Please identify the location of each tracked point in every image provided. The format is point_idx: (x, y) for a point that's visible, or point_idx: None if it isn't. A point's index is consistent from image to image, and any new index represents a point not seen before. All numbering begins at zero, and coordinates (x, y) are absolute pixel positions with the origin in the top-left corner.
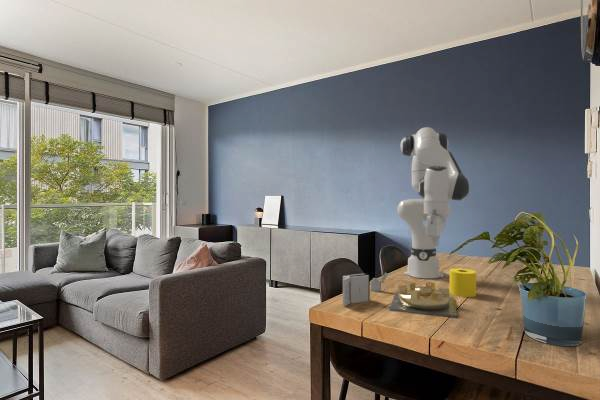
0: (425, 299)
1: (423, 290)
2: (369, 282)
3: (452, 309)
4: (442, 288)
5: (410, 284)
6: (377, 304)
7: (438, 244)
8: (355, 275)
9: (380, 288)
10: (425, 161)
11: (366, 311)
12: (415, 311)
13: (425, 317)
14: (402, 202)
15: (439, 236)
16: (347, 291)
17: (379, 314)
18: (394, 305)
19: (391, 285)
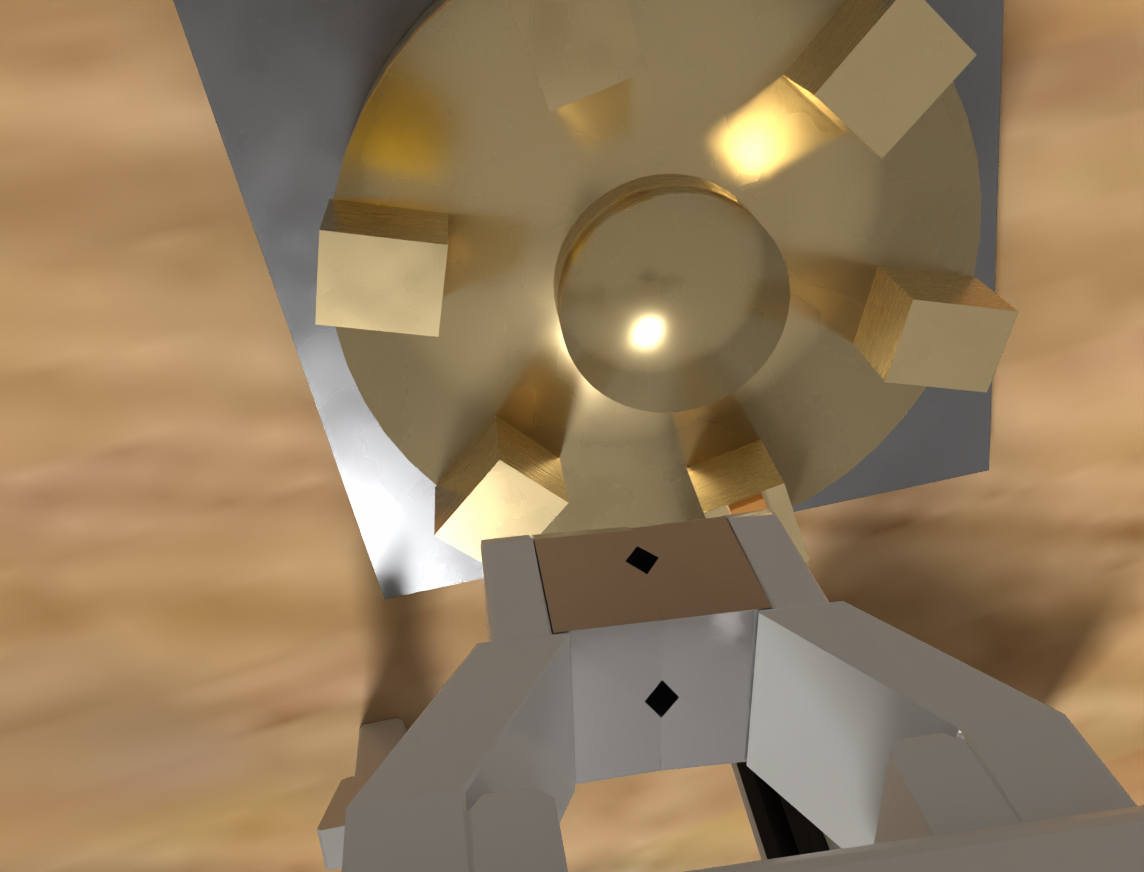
0: (921, 193)
1: (784, 280)
2: (807, 825)
3: None
4: (619, 47)
5: (565, 494)
6: (847, 593)
7: (575, 536)
8: None
9: (396, 742)
10: None
11: (1076, 592)
12: (993, 235)
13: (1093, 103)
14: None
15: (464, 774)
16: None
17: (1124, 487)
18: (897, 458)
19: (71, 720)
